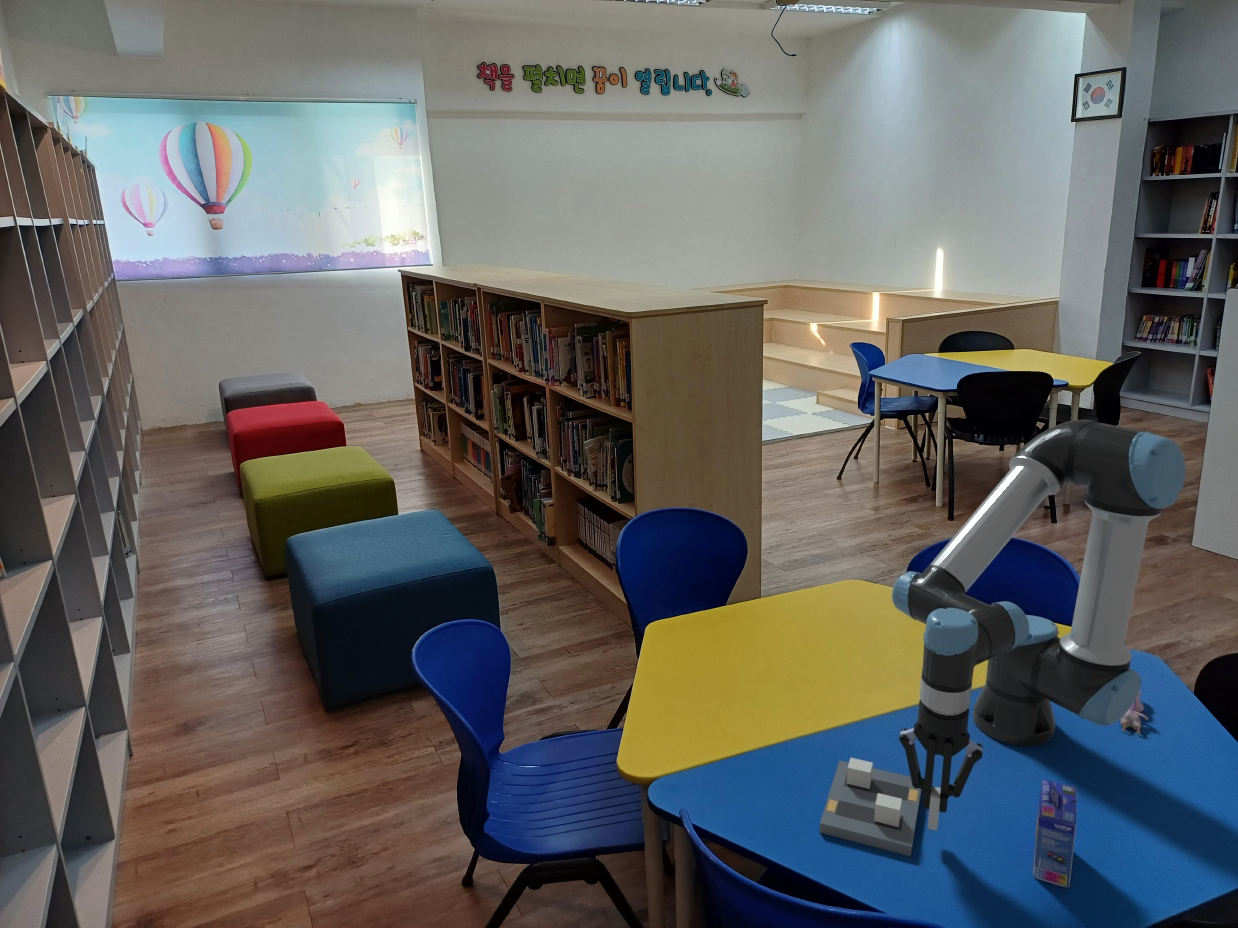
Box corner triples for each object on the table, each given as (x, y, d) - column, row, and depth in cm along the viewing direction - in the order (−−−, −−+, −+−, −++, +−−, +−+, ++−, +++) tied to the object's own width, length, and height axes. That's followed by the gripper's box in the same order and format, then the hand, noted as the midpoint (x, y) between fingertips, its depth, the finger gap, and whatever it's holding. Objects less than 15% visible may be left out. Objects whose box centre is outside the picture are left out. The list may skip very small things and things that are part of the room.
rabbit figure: (1147, 742, 169) (1143, 693, 181) (1152, 720, 167) (1148, 671, 178) (1111, 735, 172) (1110, 686, 184) (1116, 712, 169) (1114, 665, 181)
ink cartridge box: (1033, 837, 145) (1043, 765, 140) (1070, 847, 142) (1081, 774, 138) (1030, 878, 136) (1040, 802, 132) (1069, 889, 134) (1081, 813, 129)
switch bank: (921, 788, 157) (922, 778, 156) (910, 856, 142) (911, 846, 141) (838, 769, 163) (839, 760, 162) (819, 832, 148) (820, 822, 147)
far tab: (871, 778, 157) (872, 762, 156) (869, 788, 154) (870, 772, 153) (849, 773, 158) (850, 757, 157) (846, 783, 156) (847, 767, 155)
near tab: (900, 815, 147) (901, 798, 146) (898, 826, 145) (899, 809, 144) (876, 809, 149) (877, 792, 148) (874, 820, 146) (875, 803, 145)
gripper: (989, 698, 137) (975, 819, 144) (904, 682, 142) (895, 800, 150) (987, 724, 131) (973, 849, 138) (898, 707, 136) (889, 828, 143)
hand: (933, 823), depth 144 cm, fingers closed
